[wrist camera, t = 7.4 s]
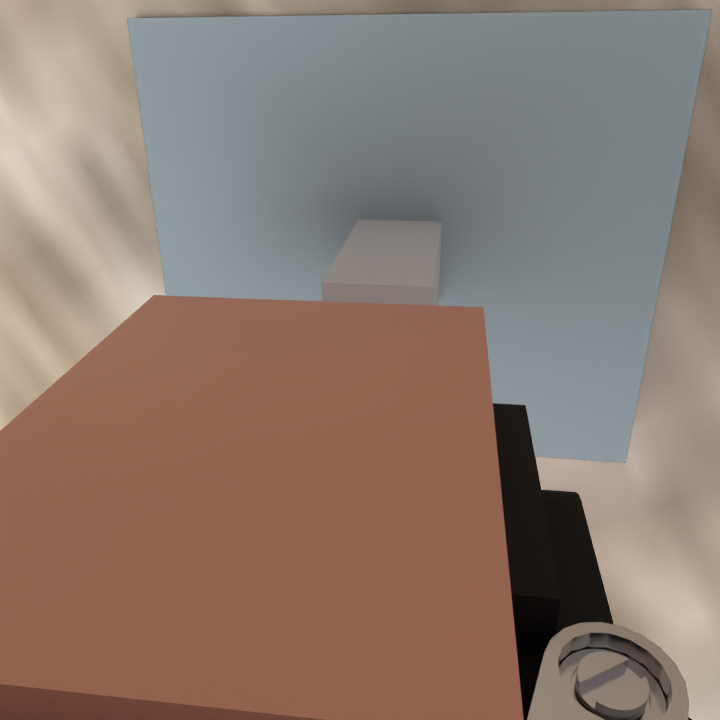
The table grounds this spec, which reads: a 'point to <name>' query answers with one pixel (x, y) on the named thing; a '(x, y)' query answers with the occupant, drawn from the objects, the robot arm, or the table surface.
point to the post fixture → (436, 180)
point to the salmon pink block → (260, 521)
